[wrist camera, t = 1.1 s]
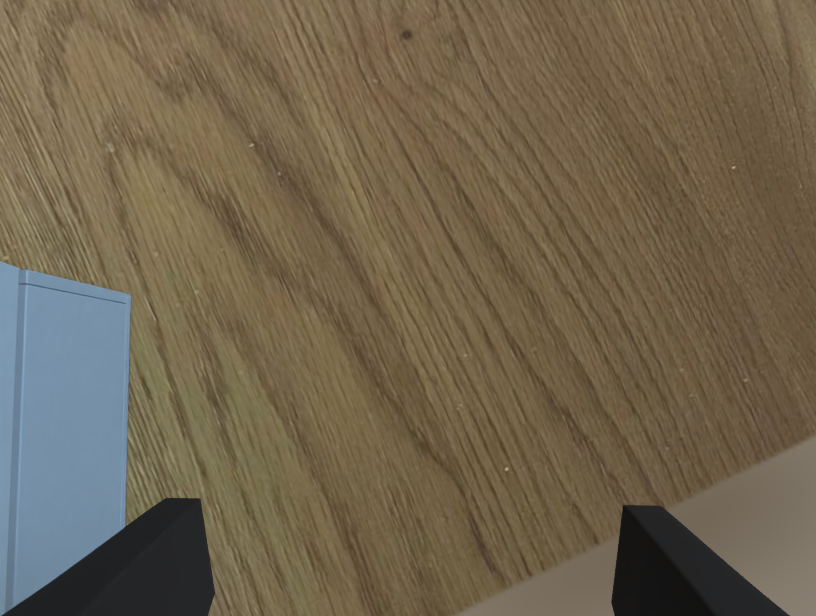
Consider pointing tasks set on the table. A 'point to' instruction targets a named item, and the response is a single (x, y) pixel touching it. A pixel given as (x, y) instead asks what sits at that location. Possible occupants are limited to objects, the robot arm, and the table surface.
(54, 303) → the carton
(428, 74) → the table surface
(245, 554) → the table surface
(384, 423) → the table surface
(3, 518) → the flap
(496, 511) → the table surface
